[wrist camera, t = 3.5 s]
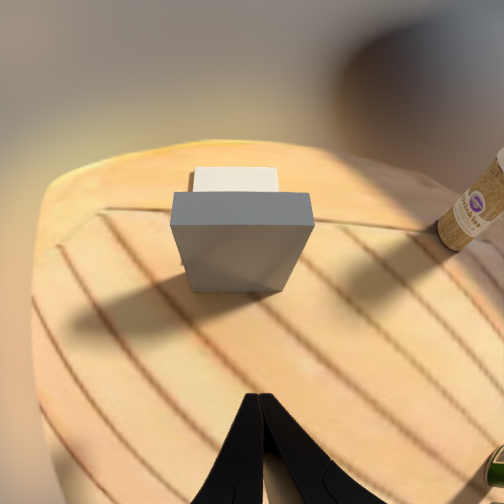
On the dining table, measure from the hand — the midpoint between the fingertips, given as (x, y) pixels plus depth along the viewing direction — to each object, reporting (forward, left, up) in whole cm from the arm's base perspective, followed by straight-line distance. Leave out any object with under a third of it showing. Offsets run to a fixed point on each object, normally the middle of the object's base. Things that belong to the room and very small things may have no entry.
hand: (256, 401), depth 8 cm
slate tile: (+7, +6, -12) cm, 15 cm away
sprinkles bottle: (+26, -9, -12) cm, 30 cm away
